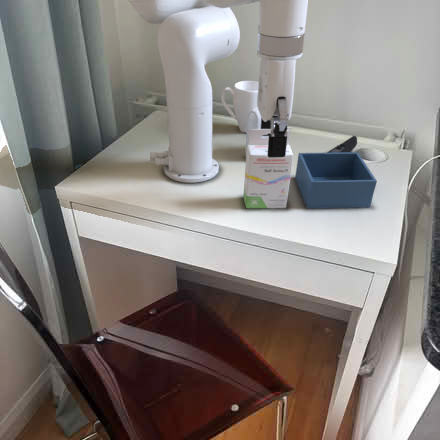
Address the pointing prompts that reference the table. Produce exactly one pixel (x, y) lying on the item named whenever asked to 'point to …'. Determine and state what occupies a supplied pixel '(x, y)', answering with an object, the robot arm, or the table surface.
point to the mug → (242, 101)
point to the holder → (334, 180)
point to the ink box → (266, 173)
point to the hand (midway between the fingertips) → (272, 145)
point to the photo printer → (253, 123)
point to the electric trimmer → (345, 146)
